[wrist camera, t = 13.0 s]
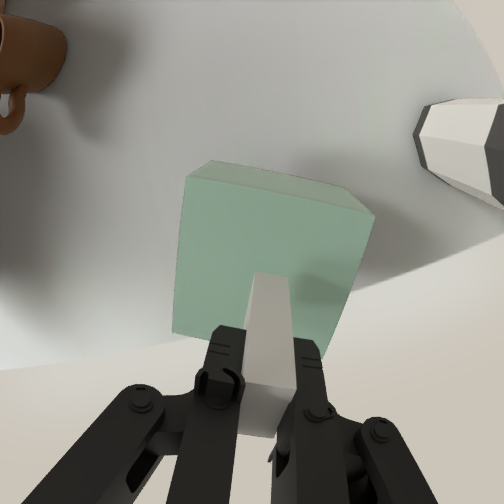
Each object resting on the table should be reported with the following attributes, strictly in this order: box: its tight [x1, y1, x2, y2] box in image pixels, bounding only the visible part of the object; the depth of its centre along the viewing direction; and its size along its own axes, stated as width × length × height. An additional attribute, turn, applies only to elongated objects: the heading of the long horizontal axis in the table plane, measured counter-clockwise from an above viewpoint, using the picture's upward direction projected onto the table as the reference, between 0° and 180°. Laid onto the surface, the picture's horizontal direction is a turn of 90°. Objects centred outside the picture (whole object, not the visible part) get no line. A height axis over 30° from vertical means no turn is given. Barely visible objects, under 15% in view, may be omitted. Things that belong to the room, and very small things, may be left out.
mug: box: [0, 14, 66, 135], centre depth 17 cm, size 12×8×9 cm, turn 12°
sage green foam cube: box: [172, 160, 376, 359], centre depth 19 cm, size 9×9×7 cm
